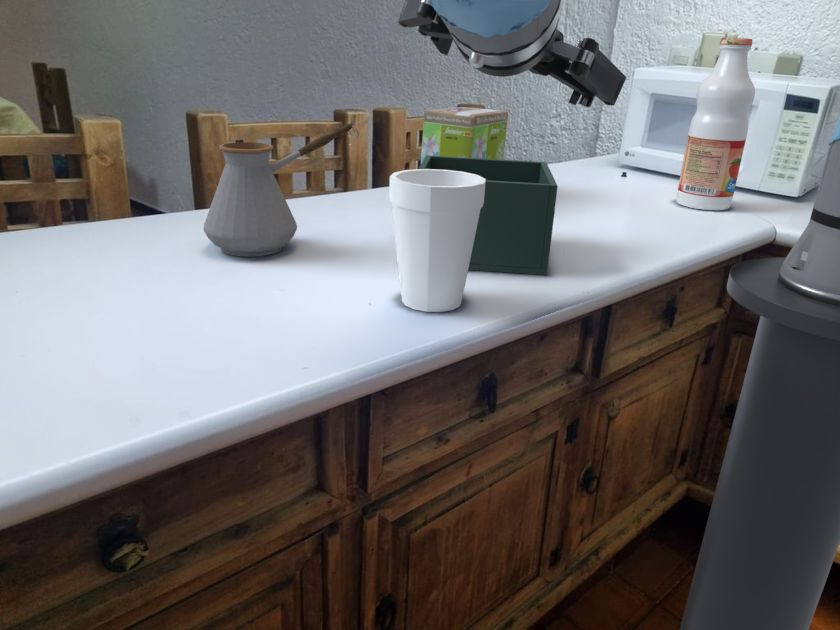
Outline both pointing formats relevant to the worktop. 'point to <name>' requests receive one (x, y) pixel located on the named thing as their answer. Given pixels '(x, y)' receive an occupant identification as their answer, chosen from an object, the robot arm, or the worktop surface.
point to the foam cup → (434, 234)
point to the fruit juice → (718, 131)
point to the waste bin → (509, 213)
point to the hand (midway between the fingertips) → (512, 65)
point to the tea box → (464, 133)
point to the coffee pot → (254, 199)
